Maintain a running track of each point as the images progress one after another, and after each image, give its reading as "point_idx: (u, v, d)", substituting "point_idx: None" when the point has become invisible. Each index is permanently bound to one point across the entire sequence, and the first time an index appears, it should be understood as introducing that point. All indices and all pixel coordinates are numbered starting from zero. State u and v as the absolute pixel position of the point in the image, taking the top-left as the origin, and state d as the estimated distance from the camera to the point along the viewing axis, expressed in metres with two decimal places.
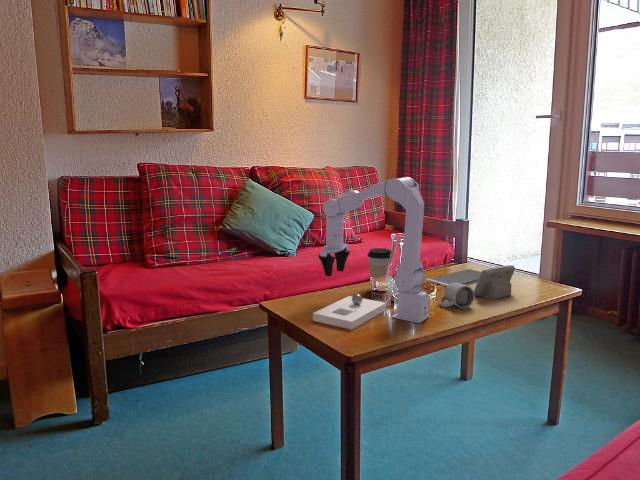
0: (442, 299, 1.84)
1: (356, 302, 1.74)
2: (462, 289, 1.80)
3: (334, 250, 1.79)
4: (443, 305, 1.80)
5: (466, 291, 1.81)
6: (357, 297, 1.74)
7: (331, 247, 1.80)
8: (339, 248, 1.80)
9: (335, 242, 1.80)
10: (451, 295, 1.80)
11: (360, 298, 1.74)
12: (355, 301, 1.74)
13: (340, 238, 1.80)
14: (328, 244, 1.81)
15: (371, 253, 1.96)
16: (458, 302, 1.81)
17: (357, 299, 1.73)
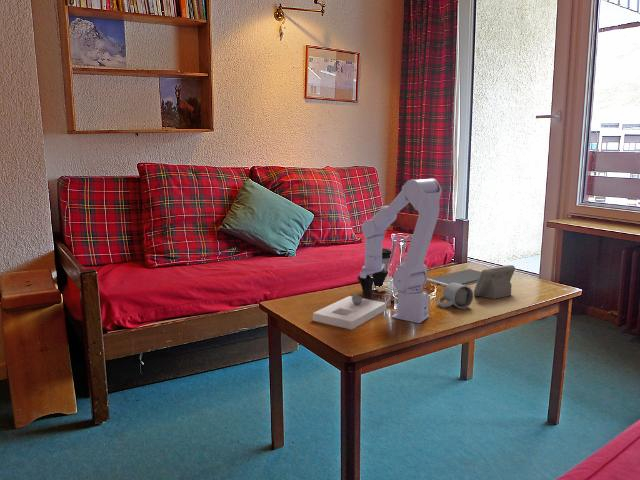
0: (441, 299, 1.84)
1: (356, 302, 1.74)
2: (461, 289, 1.80)
3: (373, 271, 1.78)
4: (442, 305, 1.80)
5: (465, 291, 1.81)
6: (357, 297, 1.74)
7: (370, 268, 1.79)
8: (378, 269, 1.80)
9: (374, 263, 1.79)
10: (450, 295, 1.80)
11: (360, 298, 1.74)
12: (355, 301, 1.74)
13: (379, 259, 1.79)
14: (367, 265, 1.80)
15: None
16: (457, 302, 1.81)
17: (357, 299, 1.73)
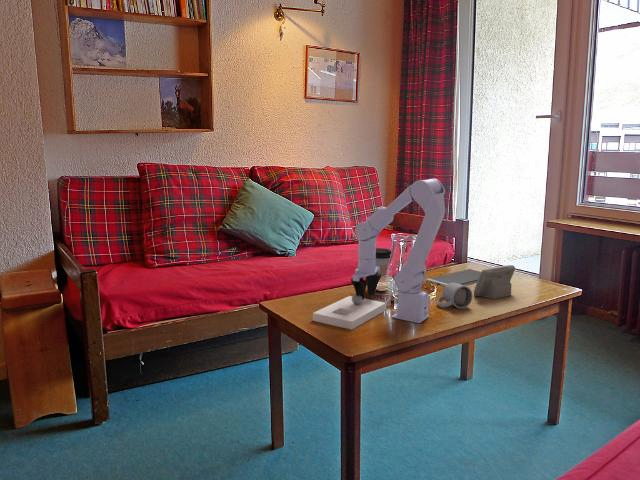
0: (440, 299, 1.84)
1: (356, 302, 1.74)
2: (460, 289, 1.80)
3: (367, 274, 1.75)
4: (441, 305, 1.80)
5: (464, 291, 1.81)
6: (357, 297, 1.73)
7: (363, 271, 1.76)
8: (371, 272, 1.76)
9: (367, 266, 1.75)
10: (449, 295, 1.80)
11: (360, 298, 1.74)
12: (355, 301, 1.74)
13: (373, 262, 1.76)
14: (360, 268, 1.76)
15: None
16: (456, 302, 1.81)
17: (357, 299, 1.73)
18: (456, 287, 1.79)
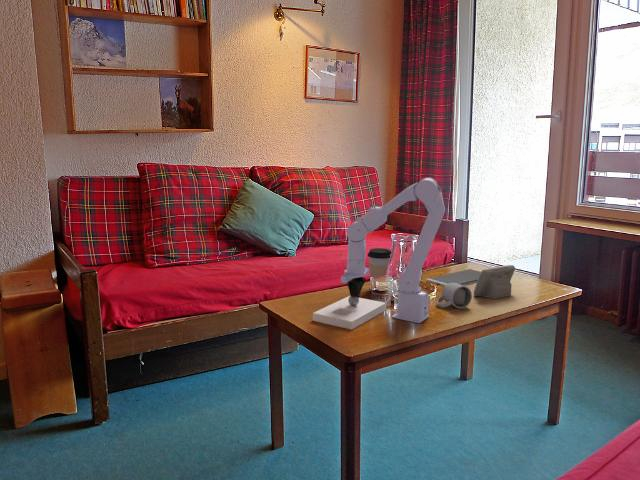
0: (439, 299, 1.84)
1: (355, 305, 1.73)
2: (459, 289, 1.80)
3: (355, 276, 1.70)
4: (440, 305, 1.80)
5: (463, 291, 1.81)
6: (353, 303, 1.72)
7: (352, 273, 1.71)
8: (361, 274, 1.71)
9: (356, 268, 1.70)
10: (448, 295, 1.80)
11: (355, 301, 1.72)
12: (353, 305, 1.73)
13: (362, 263, 1.70)
14: (349, 269, 1.71)
15: (371, 253, 1.96)
16: (455, 302, 1.81)
17: (354, 303, 1.72)
18: (455, 287, 1.79)
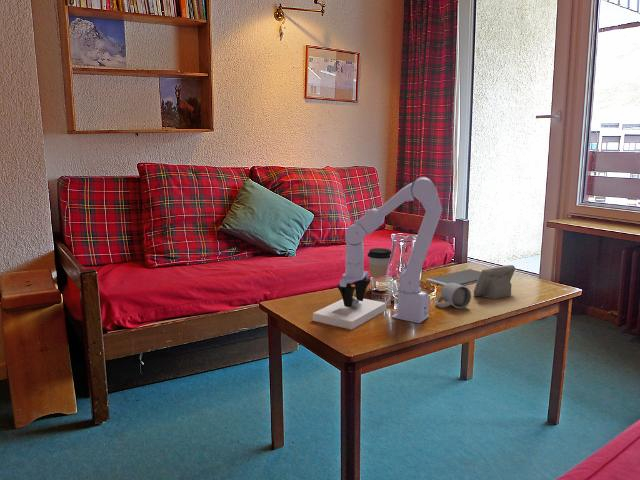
0: (439, 299, 1.84)
1: None
2: (459, 289, 1.80)
3: (354, 280, 1.68)
4: (440, 305, 1.80)
5: (463, 291, 1.81)
6: None
7: (351, 276, 1.69)
8: (359, 277, 1.69)
9: (355, 271, 1.69)
10: (448, 295, 1.80)
11: None
12: None
13: (360, 267, 1.69)
14: (348, 273, 1.70)
15: (371, 253, 1.96)
16: (455, 302, 1.81)
17: None
18: (455, 287, 1.79)
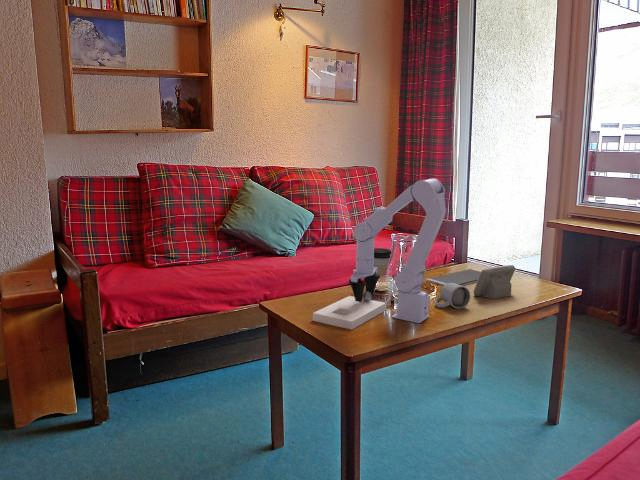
0: (438, 299, 1.84)
1: (366, 294, 1.77)
2: (458, 289, 1.80)
3: (365, 275, 1.74)
4: (439, 305, 1.80)
5: (462, 291, 1.81)
6: (366, 291, 1.78)
7: (361, 272, 1.75)
8: (370, 273, 1.75)
9: (365, 267, 1.74)
10: (447, 295, 1.80)
11: (369, 292, 1.79)
12: (365, 293, 1.77)
13: (371, 262, 1.75)
14: (358, 269, 1.75)
15: None
16: (454, 302, 1.81)
17: (367, 291, 1.78)
18: (454, 287, 1.79)
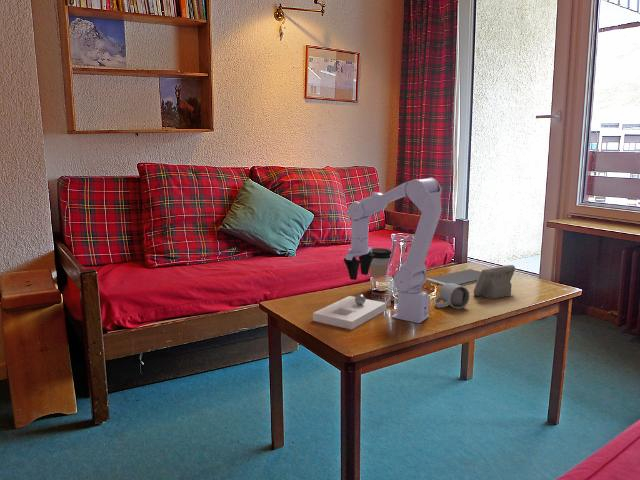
0: (437, 299, 1.84)
1: None
2: (457, 289, 1.80)
3: (359, 253, 1.77)
4: (438, 305, 1.80)
5: (461, 291, 1.81)
6: None
7: (356, 250, 1.78)
8: (364, 251, 1.79)
9: (360, 246, 1.78)
10: (446, 295, 1.80)
11: (360, 303, 1.73)
12: None
13: (365, 241, 1.78)
14: (353, 247, 1.79)
15: (371, 253, 1.96)
16: (453, 302, 1.81)
17: None
18: (453, 287, 1.79)
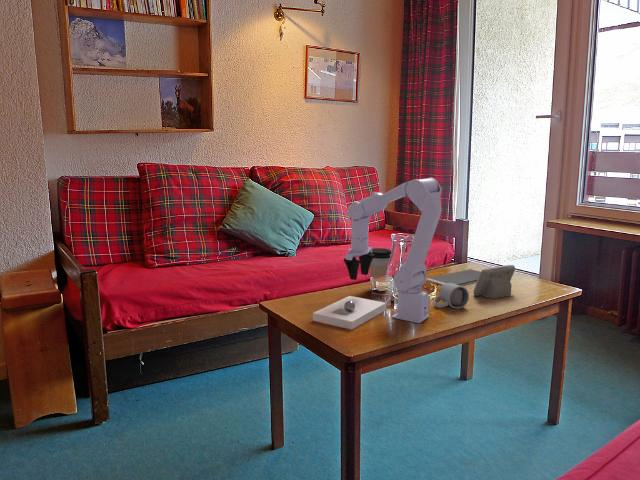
0: (437, 299, 1.84)
1: (349, 307, 1.67)
2: (456, 289, 1.80)
3: (359, 253, 1.77)
4: (437, 305, 1.80)
5: (461, 291, 1.81)
6: (348, 302, 1.68)
7: (356, 250, 1.78)
8: (364, 251, 1.79)
9: (360, 246, 1.78)
10: (445, 295, 1.80)
11: (351, 302, 1.68)
12: (348, 306, 1.67)
13: (365, 241, 1.78)
14: (353, 247, 1.79)
15: (371, 253, 1.96)
16: (452, 302, 1.81)
17: (349, 303, 1.67)
18: (452, 287, 1.79)
